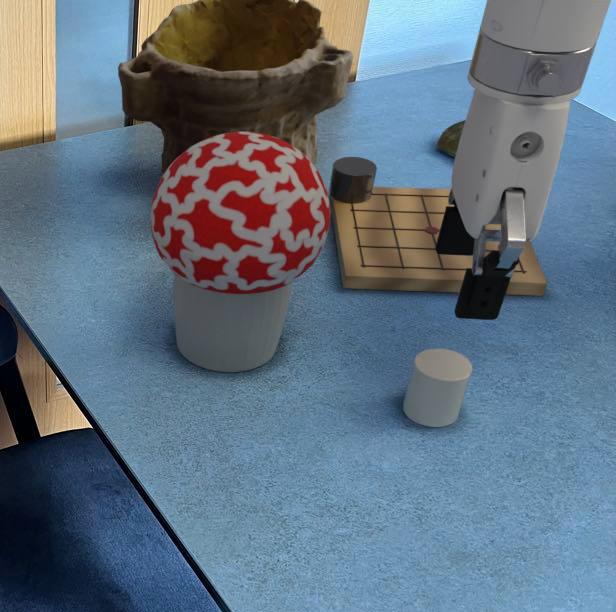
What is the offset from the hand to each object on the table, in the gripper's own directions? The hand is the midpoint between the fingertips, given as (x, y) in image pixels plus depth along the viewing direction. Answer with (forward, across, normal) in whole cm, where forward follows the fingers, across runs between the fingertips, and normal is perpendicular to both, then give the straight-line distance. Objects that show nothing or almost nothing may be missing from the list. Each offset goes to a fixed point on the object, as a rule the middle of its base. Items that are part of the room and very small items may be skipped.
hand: (464, 284), depth 82 cm
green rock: (+12, +54, -14) cm, 57 cm away
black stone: (+11, +38, +4) cm, 40 cm away
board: (+12, +30, -4) cm, 33 cm away
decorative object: (+13, +9, +18) cm, 24 cm away
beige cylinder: (+13, 0, 0) cm, 13 cm away
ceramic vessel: (+13, +39, +19) cm, 45 cm away
